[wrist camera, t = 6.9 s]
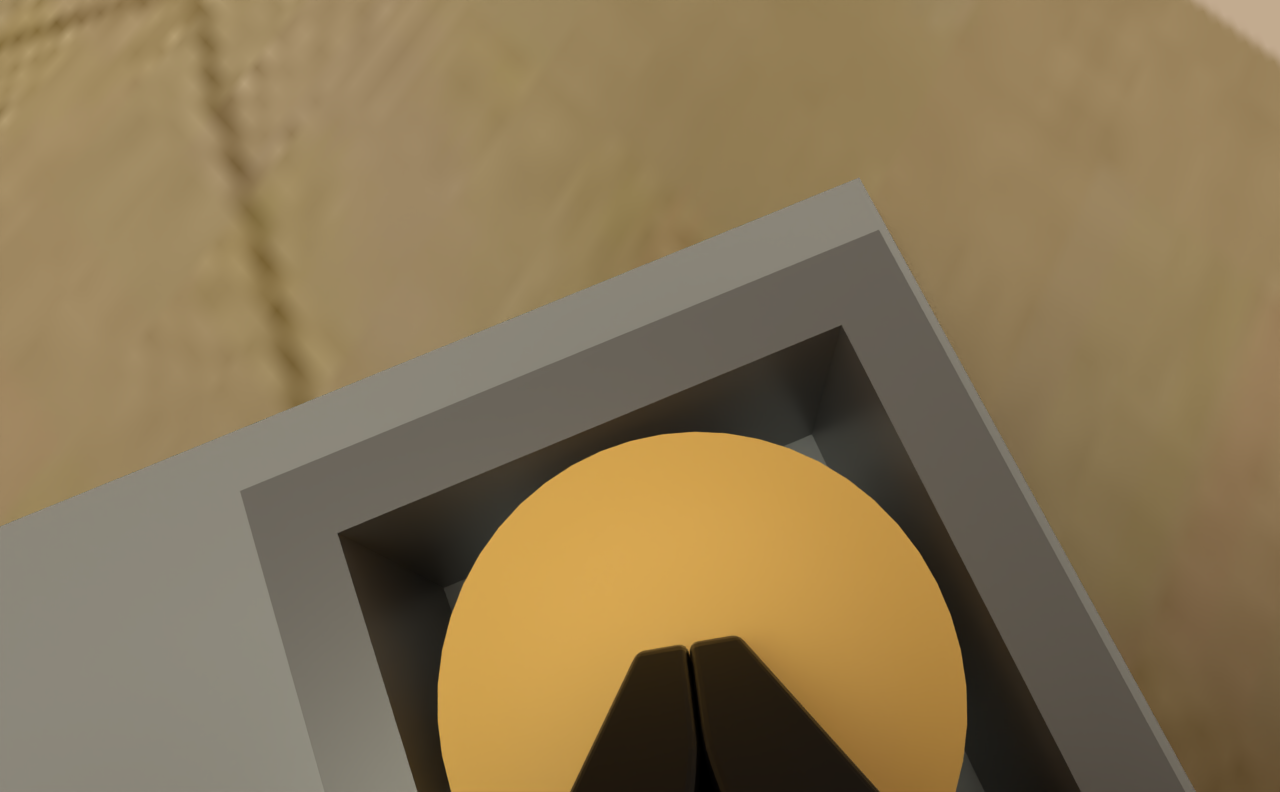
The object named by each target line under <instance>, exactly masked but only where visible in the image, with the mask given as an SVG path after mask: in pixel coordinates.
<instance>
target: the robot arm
mask: <svg viewBox="0 0 1280 792" xmlns="http://www.w3.org/2000/svg"><path fill="white" fill-rule="evenodd" d="M570 792H880V791H879V790H878V789H877V788H876V787H875V786H874V784H873V783H872V782H871V781H870V780H869V779H868V778H867V777H866V776H865V774H864V773H863V772H862V771H861V770H860V769H859V768H858V767H857V766H856V764H855V763H854V762H853V761H852V760H851V759H850V758H849V757H848V756H847V754H846V753H845V752H844V751H843V750H842V749H841V748H840V747H839V746H838V744H837V743H836V742H835V741H834V740H833V739H832V738H831V737H830V735H829V734H828V733H827V732H826V731H825V730H824V729H823V728H822V727H821V725H820V724H819V723H818V722H817V721H816V720H815V719H814V718H813V717H812V715H811V714H810V713H809V712H808V711H807V710H806V709H805V708H804V707H803V705H802V704H801V703H800V702H799V701H798V700H797V699H796V698H795V697H794V695H793V694H792V693H791V692H790V691H789V690H788V689H787V688H786V687H785V685H784V684H783V683H782V682H781V681H780V680H779V679H778V678H777V677H776V675H775V674H774V673H773V672H772V671H771V670H770V669H769V668H768V666H767V665H766V664H765V663H764V662H763V661H762V660H761V659H760V658H759V656H758V655H757V654H756V653H755V652H754V651H753V650H752V649H751V648H750V646H749V645H748V644H747V643H746V642H745V641H744V640H743V639H742V638H740V637H738V636H733V635H731V636H726V637H720V638H714V639H708V640H702V641H697V642H694V643H693V644H692V645H691V647H690V654H689V651H688V649H687V648H686V647H685V646H683V645H673V646H667V647H661V648H656V649H650V650H644V651H641V652H639V653H638V654H637V655H636V656H635V657H634V659H633V661H632V663H631V665H630V667H629V669H628V672H627V674H626V676H625V678H624V680H623V682H622V684H621V686H620V688H619V690H618V692H617V694H616V697H615V699H614V701H613V703H612V705H611V707H610V709H609V711H608V713H607V715H606V717H605V720H604V722H603V724H602V726H601V728H600V730H599V732H598V734H597V736H596V738H595V740H594V743H593V745H592V747H591V749H590V751H589V753H588V755H587V757H586V759H585V761H584V763H583V765H582V768H581V770H580V772H579V774H578V776H577V778H576V780H575V782H574V784H573V786H572V788H571V791H570Z"/></svg>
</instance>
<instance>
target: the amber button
mask: <svg viewBox="0 0 1280 792" xmlns="http://www.w3.org/2000/svg"><path fill="white" fill-rule="evenodd" d="M731 635H733V636H738V637H740V638H742V639H743V640H744V641H745V642H746V643H747V644H748V645H749V646H750V648H751V649H752V650H753V651H754V652H755V653H756V654H757V655H758V656H759V658H760V659H761V660H762V661H763V662H764V663H765V664H766V665H767V666H768V668H769V669H770V670H771V671H772V672H773V673H774V674H775V675H776V677H777V678H778V679H779V680H780V681H781V682H782V683H783V684H784V685H785V687H786V688H787V689H788V690H789V691H790V692H791V693H792V694H793V695H794V697H795V698H796V699H797V700H798V701H799V702H800V703H801V704H802V705H803V707H804V708H805V709H806V710H807V711H808V712H809V713H810V714H811V715H812V717H813V718H814V719H815V720H816V721H817V722H818V723H819V724H820V725H821V727H822V728H823V729H824V730H825V731H826V732H827V733H828V734H829V735H830V737H831V738H832V739H833V740H834V741H835V742H836V743H837V744H838V746H839V747H840V748H841V749H842V750H843V751H844V752H845V753H846V754H847V756H848V757H849V758H850V759H851V760H852V761H853V762H854V763H855V764H856V766H857V767H858V768H859V769H860V770H861V771H862V772H863V773H864V774H865V776H866V777H867V778H868V779H869V780H870V781H871V782H872V783H873V784H874V786H875V787H876V788H877V789H878V790H879V791H880V792H956V788H957V784H958V779H959V775H960V771H961V767H962V763H963V757H964V748H965V739H966V730H967V693H966V681H965V674H964V668H963V661H962V654H961V649H960V646H959V642H958V638H957V635H956V631H955V628H954V624H953V621H952V617H951V614H950V612H949V610H948V607H947V605H946V603H945V600H944V598H943V596H942V593H941V591H940V589H939V586H938V584H937V582H936V580H935V578H934V577H933V575H932V573H931V572H930V570H929V568H928V566H927V565H926V563H925V561H924V560H923V558H922V556H921V554H920V553H919V551H918V550H917V549H916V547H915V546H914V545H913V543H912V542H911V541H910V539H909V538H908V537H907V536H906V534H905V533H904V532H903V530H902V529H901V528H900V526H899V525H898V524H897V523H896V522H895V521H894V520H893V519H892V518H891V517H890V516H889V515H888V514H887V513H886V512H885V511H884V510H883V509H882V508H881V507H880V506H879V505H878V504H877V503H876V501H875V500H873V499H872V498H871V497H870V496H868V495H867V494H866V493H864V492H863V491H862V490H861V489H859V488H858V487H857V486H856V485H854V484H853V483H852V482H851V481H849V480H848V479H847V478H845V477H843V476H842V475H840V474H838V473H837V472H835V471H833V470H832V469H830V468H829V467H827V466H825V465H824V464H822V463H820V462H818V461H816V460H814V459H812V458H810V457H807V456H805V455H803V454H801V453H798V452H796V451H794V450H792V449H790V448H786V447H783V446H780V445H777V444H773V443H770V442H767V441H764V440H760V439H756V438H750V437H745V436H739V435H733V434H727V433H709V432H686V433H673V434H662V435H657V436H652V437H647V438H642V439H638V440H633V441H629V442H626V443H623V444H620V445H618V446H615V447H612V448H609V449H606V450H603V451H600V452H598V453H596V454H594V455H592V456H590V457H588V458H586V459H584V460H582V461H580V462H578V463H576V464H574V465H572V466H570V467H569V468H567V469H566V470H564V471H563V472H561V473H560V474H558V475H557V476H555V477H554V478H552V479H550V480H549V481H547V482H546V483H545V484H543V485H542V486H541V487H540V488H539V489H538V490H536V491H535V492H534V493H533V494H532V495H530V496H529V497H528V498H527V499H526V500H525V501H523V502H522V503H521V504H520V505H519V506H518V507H517V508H516V509H515V511H514V512H513V513H512V514H511V515H510V516H509V517H508V518H507V519H506V520H505V521H504V523H503V524H502V525H501V526H500V527H499V528H498V529H497V531H496V532H495V534H494V535H493V536H492V538H491V539H490V541H489V542H488V543H487V545H486V546H485V548H484V549H483V550H482V552H481V553H480V555H479V556H478V558H477V560H476V562H475V564H474V566H473V567H472V569H471V571H470V573H469V575H468V577H467V579H466V580H465V582H464V584H463V586H462V589H461V591H460V594H459V597H458V599H457V602H456V604H455V607H454V609H453V612H452V615H451V617H450V621H449V625H448V629H447V633H446V637H445V641H444V645H443V649H442V656H441V664H440V671H439V679H438V726H439V735H440V743H441V751H442V757H443V761H444V765H445V769H446V773H447V777H448V781H449V785H450V789H451V792H570V791H571V788H572V786H573V784H574V782H575V780H576V778H577V776H578V774H579V772H580V770H581V768H582V765H583V763H584V761H585V759H586V757H587V755H588V753H589V751H590V749H591V747H592V745H593V743H594V740H595V738H596V736H597V734H598V732H599V730H600V728H601V726H602V724H603V722H604V720H605V717H606V715H607V713H608V711H609V709H610V707H611V705H612V703H613V701H614V699H615V697H616V694H617V692H618V690H619V688H620V686H621V684H622V682H623V680H624V678H625V676H626V674H627V672H628V669H629V667H630V665H631V663H632V661H633V659H634V657H635V656H636V655H637V654H638V653H639V652H641V651H644V650H650V649H656V648H661V647H667V646H673V645H683V646H685V647H686V648H687V649H688V651H689V654H690V647H691V645H692V644H693V643H694V642H697V641H702V640H708V639H714V638H720V637H726V636H731Z"/></svg>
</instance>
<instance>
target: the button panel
mask: <svg viewBox="0 0 1280 792" xmlns="http://www.w3.org/2000/svg"><path fill="white" fill-rule="evenodd" d="M686 432H709V433H727V434H733V435H739V436H745V437H750V438H756V439H760V440H764V441H767V442H770V443H773V444H777V445H780V446H783V447H786V448H790V449H792V450H794V451H796V452H798V453H801V454H803V455H805V456H807V457H810V458H812V459H814V460H816V461H818V462H820V463H822V464H824V465H825V466H827V467H829V468H830V469H832V470H833V471H835V472H837V473H838V474H840V475H842V476H843V477H845V478H847V479H848V480H849V481H851V482H852V483H853V484H854V485H856V486H857V487H858V488H859V489H861V490H862V491H863V492H864V493H866V494H867V495H868V496H870V497H871V498H872V499H873V500H875V501H876V503H877V504H878V505H879V506H880V507H881V508H882V509H883V510H884V511H885V512H886V513H887V514H888V515H889V516H890V517H891V518H892V519H893V520H894V521H895V522H896V523H897V524H898V525H899V526H900V528H901V529H902V530H903V532H904V533H905V534H906V536H907V537H908V538H909V539H910V541H911V542H912V543H913V545H914V546H915V547H916V549H917V550H918V551H919V553H920V554H921V556H922V558H923V560H924V561H925V563H926V565H927V566H928V568H929V570H930V572H931V573H932V575H933V577H934V578H935V580H936V582H937V584H938V586H939V589H940V591H941V593H942V596H943V598H944V600H945V603H946V605H947V607H948V610H949V612H950V614H951V617H952V621H953V624H954V628H955V631H956V635H957V638H958V642H959V646H960V649H961V654H962V661H963V668H964V674H965V681H966V693H967V730H966V739H965V748H964V757H963V763H962V767H961V771H960V775H959V779H958V784H957V788H956V792H1196V791H1195V789H1194V787H1193V786H1192V784H1191V782H1190V780H1189V778H1188V776H1187V775H1186V773H1185V771H1184V769H1183V767H1182V766H1181V764H1180V762H1179V760H1178V758H1177V756H1176V755H1175V753H1174V751H1173V749H1172V747H1171V745H1170V744H1169V742H1168V740H1167V738H1166V736H1165V735H1164V733H1163V731H1162V729H1161V727H1160V725H1159V724H1158V722H1157V720H1156V718H1155V716H1154V714H1153V713H1152V711H1151V709H1150V707H1149V705H1148V703H1147V702H1146V700H1145V698H1144V696H1143V694H1142V693H1141V691H1140V689H1139V687H1138V685H1137V683H1136V682H1135V680H1134V678H1133V676H1132V674H1131V672H1130V671H1129V669H1128V667H1127V665H1126V663H1125V662H1124V660H1123V658H1122V656H1121V654H1120V652H1119V651H1118V649H1117V647H1116V645H1115V643H1114V641H1113V640H1112V638H1111V636H1110V634H1109V632H1108V631H1107V629H1106V627H1105V625H1104V623H1103V621H1102V620H1101V618H1100V616H1099V614H1098V612H1097V610H1096V609H1095V607H1094V605H1093V603H1092V601H1091V599H1090V598H1089V596H1088V594H1087V592H1086V590H1085V589H1084V587H1083V585H1082V583H1081V581H1080V579H1079V578H1078V576H1077V574H1076V572H1075V570H1074V568H1073V567H1072V565H1071V563H1070V561H1069V559H1068V558H1067V556H1066V554H1065V552H1064V550H1063V548H1062V547H1061V545H1060V543H1059V541H1058V539H1057V537H1056V536H1055V534H1054V532H1053V530H1052V528H1051V527H1050V525H1049V523H1048V521H1047V519H1046V517H1045V516H1044V514H1043V512H1042V510H1041V508H1040V506H1039V505H1038V503H1037V501H1036V499H1035V497H1034V496H1033V494H1032V492H1031V490H1030V488H1029V486H1028V485H1027V483H1026V481H1025V479H1024V477H1023V475H1022V474H1021V472H1020V470H1019V468H1018V466H1017V464H1016V463H1015V461H1014V459H1013V457H1012V455H1011V454H1010V452H1009V450H1008V448H1007V446H1006V444H1005V443H1004V441H1003V439H1002V437H1001V435H1000V433H999V432H998V430H997V428H996V426H995V424H994V423H993V421H992V419H991V417H990V415H989V413H988V412H987V410H986V408H985V406H984V404H983V402H982V401H981V399H980V397H979V395H978V393H977V392H976V390H975V388H974V386H973V384H972V382H971V381H970V379H969V377H968V375H967V373H966V371H965V370H964V368H963V366H962V364H961V362H960V360H959V359H958V357H957V355H956V353H955V351H954V350H953V348H952V346H951V344H950V342H949V340H948V339H947V337H946V335H945V333H944V331H943V329H942V328H941V326H940V324H939V322H938V320H937V319H936V317H935V315H934V313H933V311H932V309H931V308H930V306H929V304H928V302H927V300H926V298H925V297H924V295H923V293H922V291H921V289H920V288H919V286H918V284H917V282H916V280H915V278H914V277H913V275H912V273H911V271H910V269H909V267H908V266H907V264H906V262H905V260H904V258H903V257H902V255H901V253H900V251H899V249H898V247H897V246H896V244H895V242H894V240H893V238H892V236H891V235H890V233H889V231H888V229H887V227H886V225H885V224H884V222H883V220H882V218H881V216H880V215H879V213H878V211H877V209H876V207H875V205H874V204H873V202H872V200H871V198H870V196H869V194H868V193H867V191H866V189H865V187H864V185H863V184H862V182H861V180H860V178H857V179H854V180H852V181H850V182H847V183H845V184H842V185H840V186H837V187H835V188H832V189H830V190H827V191H825V192H822V193H820V194H818V195H815V196H813V197H810V198H808V199H805V200H803V201H800V202H798V203H795V204H793V205H790V206H788V207H786V208H783V209H781V210H778V211H776V212H773V213H771V214H768V215H766V216H763V217H761V218H758V219H756V220H754V221H751V222H749V223H746V224H744V225H741V226H739V227H736V228H734V229H731V230H729V231H726V232H724V233H722V234H719V235H717V236H714V237H712V238H709V239H707V240H704V241H702V242H699V243H697V244H694V245H692V246H690V247H687V248H685V249H682V250H680V251H677V252H675V253H672V254H670V255H667V256H665V257H662V258H660V259H658V260H655V261H653V262H650V263H648V264H645V265H643V266H640V267H638V268H635V269H633V270H630V271H628V272H626V273H623V274H621V275H618V276H616V277H613V278H611V279H608V280H606V281H603V282H601V283H598V284H596V285H594V286H591V287H589V288H586V289H584V290H581V291H579V292H576V293H574V294H571V295H569V296H566V297H564V298H562V299H559V300H557V301H554V302H552V303H549V304H547V305H544V306H542V307H539V308H537V309H534V310H532V311H530V312H527V313H525V314H522V315H520V316H517V317H515V318H512V319H510V320H507V321H505V322H502V323H500V324H497V325H495V326H493V327H490V328H488V329H485V330H483V331H480V332H478V333H475V334H473V335H470V336H468V337H465V338H463V339H461V340H458V341H456V342H453V343H451V344H448V345H446V346H443V347H441V348H438V349H436V350H433V351H431V352H429V353H426V354H424V355H421V356H419V357H416V358H414V359H411V360H409V361H406V362H404V363H401V364H399V365H397V366H394V367H392V368H389V369H387V370H384V371H382V372H379V373H377V374H374V375H372V376H369V377H367V378H365V379H362V380H360V381H357V382H355V383H352V384H350V385H347V386H345V387H342V388H340V389H337V390H335V391H333V392H330V393H328V394H325V395H323V396H320V397H318V398H315V399H313V400H310V401H308V402H305V403H303V404H301V405H298V406H296V407H293V408H291V409H288V410H286V411H283V412H281V413H278V414H276V415H273V416H271V417H269V418H266V419H264V420H261V421H259V422H256V423H254V424H251V425H249V426H246V427H244V428H241V429H239V430H237V431H234V432H232V433H229V434H227V435H224V436H222V437H219V438H217V439H214V440H212V441H209V442H207V443H205V444H202V445H200V446H197V447H195V448H192V449H190V450H187V451H185V452H182V453H180V454H177V455H175V456H172V457H170V458H168V459H165V460H163V461H160V462H158V463H155V464H153V465H150V466H148V467H145V468H143V469H140V470H138V471H136V472H133V473H131V474H128V475H126V476H123V477H121V478H118V479H116V480H113V481H111V482H108V483H106V484H104V485H101V486H99V487H96V488H94V489H91V490H89V491H86V492H84V493H81V494H79V495H76V496H74V497H72V498H69V499H67V500H64V501H62V502H59V503H57V504H54V505H52V506H49V507H47V508H44V509H42V510H40V511H37V512H35V513H32V514H30V515H27V516H25V517H22V518H20V519H17V520H15V521H12V522H10V523H8V524H5V525H3V526H0V792H451V789H450V785H449V781H448V777H447V773H446V769H445V765H444V761H443V757H442V751H441V743H440V735H439V726H438V679H439V671H440V664H441V656H442V649H443V645H444V641H445V637H446V633H447V629H448V625H449V621H450V617H451V615H452V612H453V609H454V607H455V604H456V602H457V599H458V597H459V594H460V591H461V589H462V586H463V584H464V582H465V580H466V579H467V577H468V575H469V573H470V571H471V569H472V567H473V566H474V564H475V562H476V560H477V558H478V556H479V555H480V553H481V552H482V550H483V549H484V548H485V546H486V545H487V543H488V542H489V541H490V539H491V538H492V536H493V535H494V534H495V532H496V531H497V529H498V528H499V527H500V526H501V525H502V524H503V523H504V521H505V520H506V519H507V518H508V517H509V516H510V515H511V514H512V513H513V512H514V511H515V509H516V508H517V507H518V506H519V505H520V504H521V503H522V502H523V501H525V500H526V499H527V498H528V497H529V496H530V495H532V494H533V493H534V492H535V491H536V490H538V489H539V488H540V487H541V486H542V485H543V484H545V483H546V482H547V481H549V480H550V479H552V478H554V477H555V476H557V475H558V474H560V473H561V472H563V471H564V470H566V469H567V468H569V467H570V466H572V465H574V464H576V463H578V462H580V461H582V460H584V459H586V458H588V457H590V456H592V455H594V454H596V453H598V452H600V451H603V450H606V449H609V448H612V447H615V446H618V445H620V444H623V443H626V442H629V441H633V440H638V439H642V438H647V437H652V436H657V435H662V434H673V433H686Z"/></svg>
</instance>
